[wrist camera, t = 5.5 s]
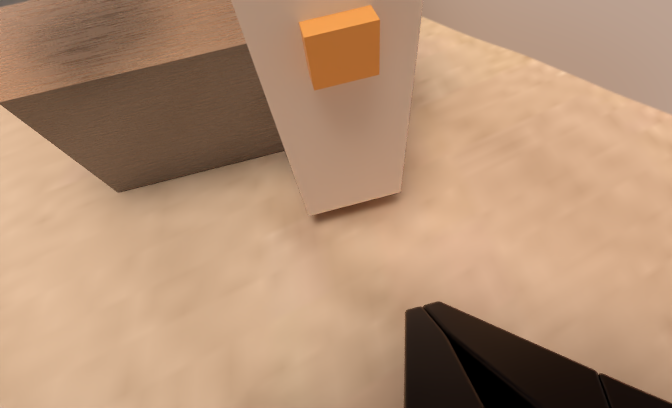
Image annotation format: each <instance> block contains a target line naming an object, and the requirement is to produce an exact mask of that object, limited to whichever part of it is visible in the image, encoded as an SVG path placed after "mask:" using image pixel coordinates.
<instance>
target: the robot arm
mask: <svg viewBox="0 0 672 408" xmlns="http://www.w3.org/2000/svg"><path fill="white" fill-rule="evenodd" d="M404 408H672V403H670V402H668V401H665V400H663V399H660V398H658V397H656V396H653V395H651V394H649V393H646V392H644V391H642V390H639V389H637V388H635V387H632V386H630V385H627V384H625V383H623V382H621V381H618V380H616V379H614V378H612V377H609V376H607V375H605V374H603V373H600V374H599V375H598V373H597V372H596V371H595V370H593V369H591V368H589V367H586V366H584V365H582V364H580V363H577V362H575V361H573V360H571V359H568V358H566V357H564V356H562V355H559V354H557V353H555V352H553V351H550V350H548V349H546V348H544V347H541V346H539V345H537V344H535V343H532V342H530V341H528V340H526V339H523V338H521V337H519V336H517V335H514V334H512V333H510V332H508V331H505V330H503V329H501V328H499V327H496V326H494V325H492V324H489V323H487V322H485V321H483V320H480V319H478V318H476V317H474V316H471V315H469V314H467V313H465V312H462V311H460V310H458V309H456V308H453V307H451V306H449V305H447V304H444V303H442V302H434V303H430V304H427V305H424V306H423V307H416V308H412V309H408V310H406V312H405V369H404Z"/></svg>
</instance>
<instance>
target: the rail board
mask: <svg viewBox="0 0 672 408" xmlns="http://www.w3.org/2000/svg"><path fill="white" fill-rule="evenodd" d="M0 105H2V106H3V107H4V108H6V109H7V110H8V111H10V112H11V113H12V114H14V115H15V116H16V117H18V118H19V119H20V120H22V121H23V122H24V123H26V124H27V125H28V126H30V127H31V128H32V129H34V130H35V131H36V132H38V133H39V134H40V135H42V136H43V137H44V138H46V139H47V140H48V141H50V142H51V143H52V144H54V145H55V146H56V147H58V148H59V149H60V150H62V151H63V152H64V153H66V154H67V155H68V156H70V157H71V158H72V159H74V160H75V161H76V162H78V163H79V164H80V165H82V166H83V167H84V168H86V169H87V170H88V171H90V172H91V173H92V174H94V175H95V176H96V177H98V178H99V179H100V180H102V181H103V182H104V183H106V184H107V185H108V186H110V187H111V188H112V189H114V190H115V191H117V192H122V191H126V190H130V189H134V188H137V187H141V186H145V185H149V184H153V183H157V182H161V181H165V180H169V179H173V178H177V177H181V176H185V175H189V174H193V173H197V172H201V171H205V170H209V169H213V168H217V167H221V166H225V165H229V164H233V163H237V162H241V161H244V160H248V159H252V158H256V157H260V156H264V155H268V154H272V153H276V152H280V151H284V150H285V149H284V146H283V144H282V141H281V138H280V135H279V133H278V130H277V127H276V124H275V121H274V119H273V116H272V113H271V110H270V107H269V105H268V102H267V99H266V96H265V94H264V91H263V88H262V85H261V82H260V80H259V77H258V74H257V71H256V69H255V66H254V63H253V60H252V57H251V55H250V52H249V49H248V46H247V43H246V41H245V38H244V35H243V32H242V30H241V27H240V24H239V21H238V18H237V16H236V13H235V10H234V7H233V4H232V2H231V0H0Z"/></svg>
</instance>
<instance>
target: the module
mask: <svg viewBox="0 0 672 408" xmlns="http://www.w3.org/2000/svg"><path fill="white" fill-rule="evenodd" d="M231 2H232V4H233V7H234V10H235V13H236V16H237V18H238V21H239V24H240V27H241V30H242V32H243V35H244V38H245V41H246V43H247V46H248V49H249V52H250V55H251V57H252V60H253V63H254V66H255V69H256V71H257V74H258V77H259V80H260V82H261V85H262V88H263V91H264V94H265V96H266V99H267V102H268V105H269V107H270V110H271V113H272V116H273V119H274V121H275V124H276V127H277V130H278V133H279V135H280V138H281V141H282V144H283V146H284V149H285V152H286V155H287V158H288V160H289V163H290V166H291V169H292V171H293V174H294V177H295V180H296V183H297V185H298V188H299V191H300V194H301V197H302V199H303V202H304V205H305V208H306V210H307V213H308V216H311V215H315V214H319V213H323V212H327V211H331V210H334V209H338V208H342V207H346V206H350V205H353V204H357V203H361V202H365V201H369V200H373V199H376V198H380V197H384V196H388V195H392V194H396V193H399V192H401V185H402V177H403V168H404V160H405V151H406V143H407V134H408V126H409V117H410V109H411V100H412V92H413V83H414V75H415V66H416V58H417V49H418V41H419V33H420V24H421V16H422V7H423V0H231Z"/></svg>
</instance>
